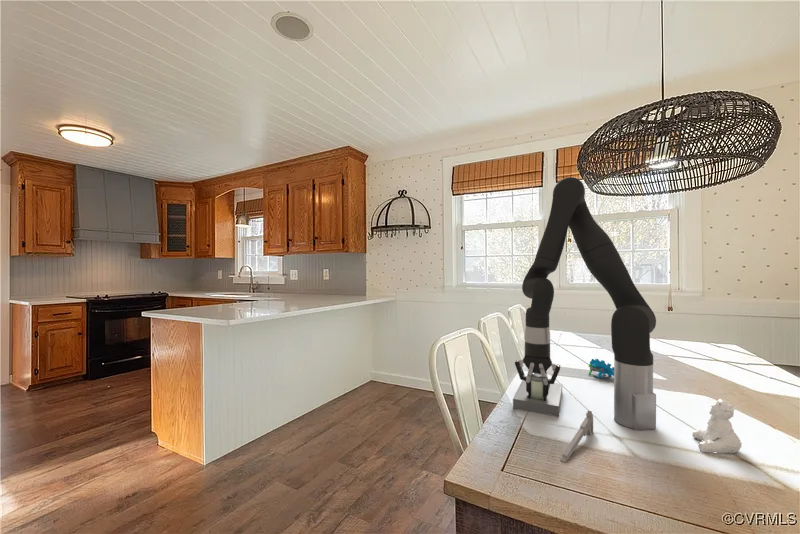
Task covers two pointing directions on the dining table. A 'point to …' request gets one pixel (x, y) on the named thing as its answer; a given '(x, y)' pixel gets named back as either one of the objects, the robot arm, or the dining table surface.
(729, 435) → the white creature statuette
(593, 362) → the blue spiky dinosaur toy
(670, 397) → the dining table surface
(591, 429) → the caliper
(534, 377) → the pale green canister
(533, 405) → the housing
